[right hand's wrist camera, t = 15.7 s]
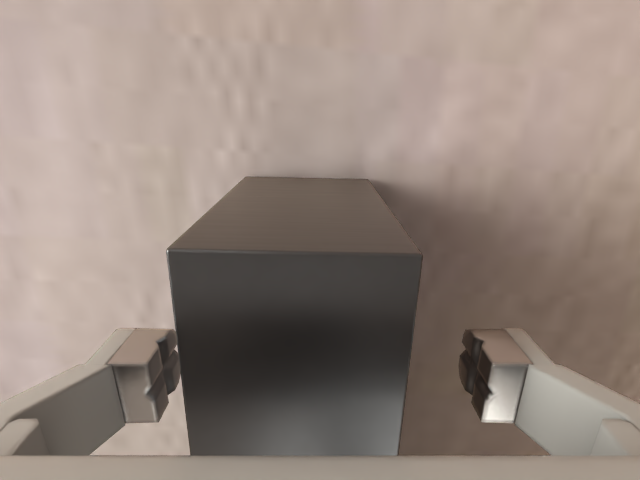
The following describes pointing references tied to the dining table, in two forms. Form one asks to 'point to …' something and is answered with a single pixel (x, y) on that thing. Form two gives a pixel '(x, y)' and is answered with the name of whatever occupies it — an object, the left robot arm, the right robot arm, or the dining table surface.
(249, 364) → the bar
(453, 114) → the dining table surface
